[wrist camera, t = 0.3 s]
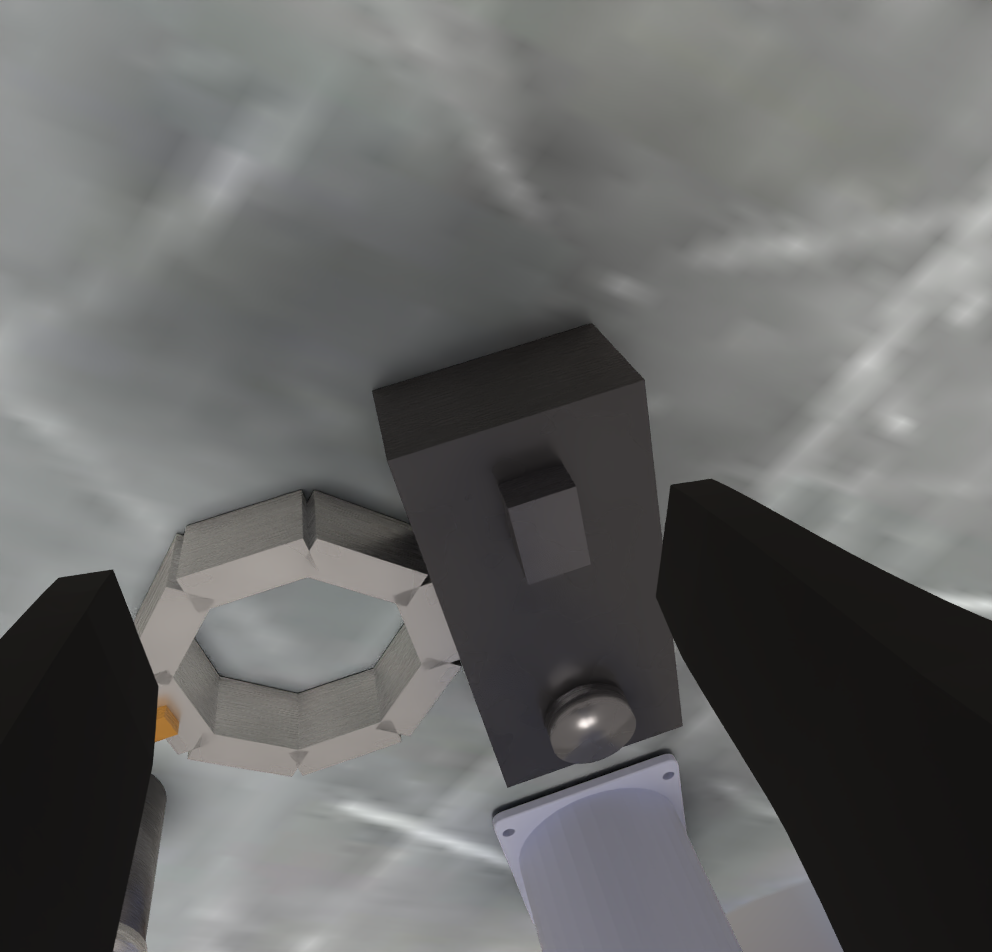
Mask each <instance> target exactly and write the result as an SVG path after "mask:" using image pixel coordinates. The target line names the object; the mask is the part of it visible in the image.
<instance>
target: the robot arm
mask: <svg viewBox="0 0 992 952" xmlns="http://www.w3.org/2000/svg"><path fill="white" fill-rule="evenodd" d="M656 599H657V601H658V603H659V606H660V608H661V611H662V613H663V615H664V618H665V620H666V622H667V625H668V627H669V630H670V632H671V634H672V636H673V638H674V641H675V643H676V645H677V647H678V649H679V651H680V654H681V656H682V658H683V660H684V661H685V663H686V665H687V667H688V668H689V670H690V672H691V673H692V675H693V677H694V678H695V680H696V682H697V683H698V685H699V687H700V688H701V690H702V692H703V693H704V695H705V697H706V698H707V700H708V702H709V703H710V705H711V707H712V708H713V710H714V712H715V713H716V715H717V716H718V718H719V720H720V721H721V723H722V725H723V726H724V728H725V729H726V731H727V733H728V734H729V736H730V737H731V739H732V741H733V742H734V744H735V746H736V747H737V749H738V750H739V752H740V754H741V755H742V757H743V759H744V760H745V762H746V764H747V765H748V767H749V768H750V770H751V772H752V773H753V775H754V777H755V778H756V780H757V781H758V783H759V785H760V786H761V788H762V790H763V791H764V793H765V794H766V796H767V798H768V799H769V801H770V803H771V805H772V807H773V808H774V810H775V812H776V814H777V816H778V817H779V819H780V821H781V823H782V824H783V826H784V828H785V830H786V832H787V834H788V836H789V838H790V840H791V842H792V844H793V846H794V848H795V850H796V852H797V854H798V856H799V858H800V860H801V862H802V864H803V866H804V868H805V871H806V873H807V875H808V877H809V879H810V881H811V883H812V885H813V887H814V889H815V891H816V893H817V895H818V897H819V899H820V901H821V903H822V905H823V908H824V910H825V912H826V914H827V916H828V919H829V921H830V923H831V925H832V927H833V929H834V932H835V934H836V936H837V938H838V940H839V943H840V945H841V947H842V949H843V951H844V952H992V621H991V620H989V619H986V618H984V617H982V616H979V615H977V614H974V613H972V612H970V611H968V610H966V609H963V608H961V607H959V606H957V605H954V604H952V603H950V602H948V601H945V600H943V599H941V598H939V597H937V596H935V595H933V594H931V593H929V592H927V591H925V590H923V589H920V588H918V587H916V586H914V585H912V584H910V583H908V582H906V581H904V580H902V579H900V578H898V577H896V576H894V575H892V574H890V573H888V572H886V571H884V570H882V569H880V568H878V567H876V566H874V565H872V564H870V563H868V562H866V561H864V560H862V559H860V558H859V557H857V556H855V555H853V554H851V553H849V552H847V551H845V550H843V549H842V548H840V547H838V546H836V545H834V544H832V543H831V542H829V541H827V540H825V539H823V538H821V537H819V536H818V535H816V534H814V533H812V532H810V531H809V530H807V529H805V528H803V527H801V526H800V525H798V524H796V523H794V522H792V521H791V520H789V519H787V518H785V517H783V516H782V515H780V514H778V513H776V512H774V511H773V510H771V509H769V508H767V507H765V506H764V505H762V504H760V503H758V502H756V501H754V500H753V499H751V498H749V497H747V496H745V495H743V494H741V493H740V492H738V491H736V490H734V489H732V488H730V487H728V486H726V485H724V484H722V483H720V482H718V481H715V480H713V479H706V480H700V481H693V482H687V483H680V484H673V485H671V486H670V494H669V501H668V509H667V516H666V523H665V531H664V538H663V546H662V553H661V561H660V568H659V575H658V583H657V590H656ZM158 688H159V686H158V684H157V681H156V679H155V676H154V673H153V671H152V668H151V666H150V663H149V661H148V658H147V656H146V653H145V650H144V648H143V645H142V643H141V640H140V638H139V635H138V632H137V630H136V627H135V625H134V622H133V620H132V617H131V614H130V612H129V609H128V607H127V604H126V602H125V599H124V596H123V594H122V591H121V589H120V586H119V584H118V581H117V579H116V576H115V573H114V571H113V570H107V571H100V572H94V573H87V574H80V575H74V576H67V577H61V578H58V579H57V580H56V581H55V582H54V583H53V584H52V585H51V586H50V587H49V588H48V589H47V590H46V591H45V592H44V593H43V594H42V595H41V596H40V597H39V598H38V599H37V600H36V601H35V602H34V603H33V604H32V605H31V606H30V608H29V609H28V610H27V611H26V612H25V613H24V614H23V615H22V616H21V617H20V618H19V619H18V620H17V621H16V623H15V624H14V625H13V626H12V627H11V628H10V629H9V630H8V631H7V632H6V633H5V634H4V636H3V637H2V638H1V639H0V952H113V949H114V944H115V940H116V935H117V931H118V926H119V921H120V917H121V912H122V907H123V903H124V898H125V893H126V889H127V884H128V879H129V875H130V870H131V866H132V861H133V856H134V852H135V847H136V842H137V838H138V833H139V828H140V824H141V819H142V814H143V809H144V804H145V800H146V795H147V790H148V785H149V780H150V775H151V770H152V765H153V755H154V744H155V733H156V719H157V703H158ZM492 823H493V827H494V830H495V833H496V835H497V838H498V840H499V842H500V845H501V847H502V850H503V852H504V855H505V857H506V859H507V862H508V864H509V867H510V869H511V872H512V874H513V876H514V879H515V881H516V884H517V886H518V889H519V891H520V893H521V896H522V898H523V901H524V903H525V906H526V908H527V911H528V913H529V915H530V918H531V920H532V923H533V924H535V926H536V930H537V934H538V937H539V941H540V945H541V949H542V952H743V951H742V949H741V947H740V945H739V942H738V940H737V938H736V936H735V934H734V932H733V930H732V928H731V926H730V923H729V921H728V920H727V917H726V915H725V913H724V911H723V909H722V907H721V905H720V903H719V900H718V898H717V896H716V894H715V892H714V890H713V888H712V886H711V884H710V882H709V879H708V877H707V875H706V873H705V871H704V869H703V867H702V865H701V863H700V861H699V858H698V856H697V854H696V852H695V850H694V848H693V846H692V844H691V842H690V840H689V837H688V835H687V831H686V823H685V815H684V807H683V798H682V790H681V782H680V774H679V766H678V762H677V760H676V758H675V756H674V755H672V754H663V755H660V756H657V757H654V758H651V759H649V760H646V761H643V762H640V763H637V764H635V765H632V766H629V767H626V768H623V769H620V770H618V771H615V772H612V773H609V774H606V775H604V776H601V777H598V778H595V779H592V780H589V781H587V782H584V783H581V784H578V785H575V786H572V787H570V788H567V789H564V790H561V791H558V792H556V793H553V794H550V795H547V796H544V797H541V798H539V799H536V800H533V801H530V802H527V803H524V804H522V805H519V806H516V807H513V808H510V809H508V810H505V811H502V812H500V813H498V814H497V815H495V816H494V818H493V820H492Z"/></svg>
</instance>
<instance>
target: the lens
mask: <svg viewBox="0 0 992 952" xmlns="http://www.w3.org/2000/svg"><path fill="white" fill-rule="evenodd" d="M165 807H166V792H165V789H164V787H163V785H162V784H161V783H160V781H159V780H158V779H157V778H156V777H155V776H153V775H152V774H151V775H150V780H149V785H148V790H147V795H146V800H145V804H144V809H143V814H142V819H141V824H140V828H139V833H138V838H137V842H136V847H135V852H134V856H133V861H132V866H131V870H130V875H129V879H128V884H127V889H126V893H125V898H124V903H123V907H122V912H121V917H120V921H119V926H118V931H117V935H116V940H115V944H114V949H113V952H147V945H146V942H145V941H146V934H147V927H148V921H149V914H150V907H151V901H152V894H153V887H154V881H155V874H156V867H157V860H158V854H159V847H160V840H161V834H162V827H163V820H164V814H165Z"/></svg>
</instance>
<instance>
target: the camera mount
mask: <svg viewBox="0 0 992 952" xmlns="http://www.w3.org/2000/svg"><path fill="white" fill-rule="evenodd" d="M372 392H373V397H374V402H375V406H376V411H377V416H378V420H379V425H380V429H381V434H382V439H383V443H384V448H385V453H386V457H387V462H388V464H389V467H390V470H391V472H392V475H393V478H394V481H395V483H396V486H397V489H398V491H399V494H400V497H401V500H402V502H403V505H404V508H405V511H406V513H407V516H408V519H409V521H410V524H411V525H410V524H407V523H404V522H402V521H399V520H396V519H393V518H390V517H388V516H385V515H382V514H379V513H376V512H374V511H371V510H368V509H365V508H363V507H360V506H357V505H354V504H351V503H349V502H346V501H343V500H340V499H338V498H335V497H332V496H329V495H326V494H324V493H321V492H318V491H315V490H314V491H313V493H312V495H311V496H310V498H309V500H308V502H307V501H306V499H305V496H304V494H303V492H302V490H299V491H296V492H293V493H290V494H287V495H284V496H280V497H277V498H274V499H271V500H268V501H265V502H261V503H258V504H255V505H252V506H249V507H246V508H242V509H239V510H236V511H233V512H230V513H227V514H223V515H220V516H217V517H214V518H211V519H208V520H204V521H201V522H198V523H195V524H192V525H189V526H186V529H185V534H184V535H180V534H176V536H175V538H174V540H173V542H172V544H171V546H170V548H169V550H168V552H167V554H166V556H165V559H164V561H163V563H162V565H161V567H160V569H159V571H158V573H157V575H156V577H155V579H154V581H153V583H152V585H151V587H150V589H149V591H148V593H147V595H146V597H145V599H144V601H143V603H142V605H141V607H140V609H139V611H138V613H137V615H136V617H135V621H134V625H135V627H136V630H137V632H138V635H139V638H140V640H141V643H142V645H143V648H144V650H145V653H146V656H147V658H148V661H149V663H150V666H151V668H152V671H153V673H154V676H155V679H156V681H157V684H158V686H159V688H158V703H157V719H156V733H155V742H157V741H160V740H163V739H166V740H167V741H168V742H169V744H170V745H171V746H172V747H173V749H174V750H175V751H176V752H177V754H181V753H184V752H187V751H188V758H187V759H189V760H195V761H201V762H207V763H213V764H219V765H225V766H231V767H237V768H243V769H249V770H255V771H261V772H267V773H273V774H279V775H285V776H291V777H292V776H293V774H294V773H295V771H296V770H297V768H298V769H299V770H300V772H301V773H302V775H303V776H304V775H306V774H309V773H312V772H315V771H318V770H321V769H324V768H327V767H330V766H333V765H336V764H338V763H341V762H344V761H347V760H350V759H353V758H356V757H359V756H362V755H365V754H368V753H370V752H373V751H376V750H379V749H382V748H385V747H388V746H391V745H394V744H397V743H400V742H402V741H401V734H402V735H407V736H410V735H411V734H412V733H413V731H414V730H415V729H416V727H417V726H418V725H419V723H420V722H421V721H422V719H423V718H424V717H425V715H426V714H427V712H428V711H429V710H430V708H431V707H432V706H433V704H434V703H435V702H436V700H437V699H438V698H439V696H440V695H441V694H442V692H443V691H444V690H445V688H446V687H447V686H448V684H449V683H450V681H451V680H452V679H453V677H454V676H455V675H456V673H457V672H458V671H459V669H460V668H461V667H462V666H461V663H462V665H463V668H464V671H465V674H466V676H467V679H468V682H469V684H470V687H471V690H472V693H473V695H474V698H475V701H476V703H477V706H478V709H479V712H480V714H481V717H482V720H483V723H484V725H485V728H486V731H487V733H488V736H489V739H490V742H491V744H492V747H493V750H494V752H495V755H496V758H497V761H498V763H499V766H500V769H501V771H502V774H503V777H504V780H505V782H506V785H507V788H508V787H511V786H514V785H516V784H519V783H522V782H525V781H528V780H531V779H534V778H536V777H539V776H542V775H545V774H548V773H551V772H553V771H556V770H559V769H562V768H565V767H568V766H570V765H573V764H583V763H591V762H595V761H598V760H601V759H604V758H606V757H608V756H610V755H612V754H614V753H615V752H617V751H618V750H620V749H621V748H622V747H624V746H627V745H630V744H633V743H636V742H639V741H641V740H644V739H647V738H650V737H653V736H656V735H658V734H661V733H664V732H667V731H670V730H673V729H676V728H678V727H681V726H683V725H682V716H681V707H680V698H679V689H678V680H677V671H676V662H675V653H674V644H673V636H672V634H671V632H670V630H669V627H668V625H667V622H666V620H665V618H664V615H663V613H662V611H661V608H660V606H659V603H658V601H657V599H656V590H657V583H658V575H659V568H660V561H661V553H662V546H663V544H662V534H661V525H660V516H659V507H658V498H657V489H656V480H655V471H654V462H653V453H652V444H651V434H650V425H649V416H648V407H647V398H646V389H645V380H644V379H643V378H642V377H641V376H640V374H639V373H638V372H637V371H636V370H635V369H634V368H633V367H632V366H631V365H630V364H629V363H628V362H627V361H626V359H625V358H624V357H623V356H622V355H621V354H620V353H619V352H618V351H617V350H616V349H615V348H614V347H613V345H612V344H611V343H610V342H609V341H608V340H607V339H606V338H605V337H604V336H603V335H602V334H601V333H600V331H599V330H598V329H597V328H596V327H595V326H594V325H593V324H592V323H591V324H588V325H585V326H581V327H578V328H575V329H572V330H568V331H565V332H562V333H559V334H555V335H552V336H549V337H546V338H543V339H539V340H536V341H533V342H530V343H526V344H523V345H520V346H517V347H513V348H510V349H507V350H504V351H500V352H497V353H494V354H491V355H487V356H484V357H481V358H478V359H474V360H471V361H468V362H465V363H461V364H458V365H455V366H452V367H448V368H445V369H442V370H439V371H435V372H432V373H429V374H426V375H422V376H419V377H416V378H413V379H409V380H406V381H403V382H400V383H396V384H393V385H390V386H387V387H383V388H380V389H377V390H374V391H372ZM307 577H309V578H313V579H316V580H319V581H322V582H326V583H329V584H332V585H336V586H339V587H342V588H346V589H349V590H352V591H356V592H359V593H362V594H366V595H369V596H372V597H376V598H379V599H382V600H386V601H389V602H392V603H396V604H397V607H398V609H399V611H400V614H401V616H402V619H403V621H404V625H403V626H402V627H401V629H400V630H399V632H398V633H397V635H396V636H395V638H394V639H393V641H392V642H391V644H390V645H389V647H388V648H387V650H386V651H385V652H384V654H383V655H382V657H381V658H380V660H379V661H378V663H377V664H376V666H375V667H374V668H373V669H370V670H367V671H364V672H362V673H359V674H356V675H353V676H350V677H347V678H344V679H341V680H338V681H335V682H332V683H329V684H326V685H323V686H320V687H317V688H314V689H311V690H308V691H305V692H302V693H299V694H296V693H292V692H287V691H283V690H278V689H274V688H269V687H265V686H260V685H256V684H251V683H247V682H242V681H238V680H233V679H229V678H224V677H220V676H219V674H218V673H217V671H216V670H215V668H214V667H213V665H212V664H211V662H210V661H209V659H208V658H207V656H206V655H205V653H204V652H203V650H202V649H201V648H200V646H199V645H198V643H197V642H196V640H195V639H194V637H195V635H196V634H197V632H198V630H199V628H200V626H201V624H202V622H203V621H204V619H205V617H206V615H207V613H208V611H209V610H210V609H211V608H214V607H217V606H220V605H223V604H226V603H229V602H233V601H236V600H239V599H242V598H245V597H248V596H251V595H254V594H257V593H260V592H263V591H266V590H270V589H273V588H276V587H279V586H282V585H285V584H288V583H291V582H294V581H297V580H300V579H303V578H307ZM460 660H461V662H460Z"/></svg>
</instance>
